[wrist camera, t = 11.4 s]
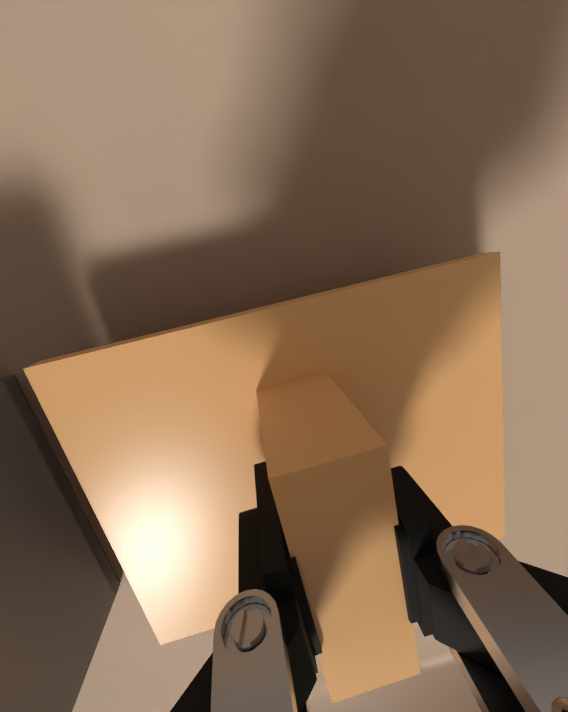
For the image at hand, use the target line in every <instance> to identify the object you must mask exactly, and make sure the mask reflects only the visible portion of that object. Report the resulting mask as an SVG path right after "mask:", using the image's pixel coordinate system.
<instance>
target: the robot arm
mask: <svg viewBox="0 0 568 712" xmlns="http://www.w3.org/2000/svg"><path fill="white" fill-rule="evenodd" d="M254 473H255V487H256V500H257V508H254V509H250V510H247V511H243V512H240V513H239V539H238V594H237V595H235V596H234V597H233V598H232V599H231V600H230V601H229V602H227V604H226V605H225V606H224V608H223V609H222V610H221V612H220V614H219V616H218V619H217V621H216V624H215V630H214V639H213V653H212V654H211V656H210V657H209V658H208V660H207V661H206V663H205V664H204V665H203V667H202V668H201V670H200V671H199V672H198V674H197V675H196V676H195V678H194V679H193V681H192V682H191V683H190V685H189V686H188V688H187V689H186V690H185V692H184V693H183V695H182V696H181V697H180V699H179V700H178V701H177V703H176V704H175V706H174V707H173V708H172V710H171V711H170V712H310V709H309V704H308V697H309V695H310V693H311V691H312V689H313V687H314V685H315V682H316V680H317V678H316V673H318V670H317V665H316V660H315V655H318V654H321V653H322V648H321V645H320V641H319V638H318V634H317V631H316V627H315V624H314V620H313V617H312V613H311V610H310V606H309V603H308V599H307V596H306V592H305V589H304V585H303V582H302V578H301V575H300V571H299V568H298V564H297V561H296V557H292V558H291V557H290V553H289V550H288V546H287V543H286V539H285V536H284V532H283V529H282V525H281V521H280V518H279V514H278V511H277V507H276V504H275V500H274V497H273V493H272V490H271V486H270V483H269V479H268V473H267V466H266V461H265V462H261V463H258V464H254ZM391 475H392V481H393V488H394V495H395V502H396V509H397V516H398V523H399V525H396V526H394V531H395V538H396V544H397V550H398V557H399V563H400V569H401V576H402V582H403V588H404V595H405V601H406V607H407V614H408V620H409V621H410V623H411V624H412V623H415V622H418V624H419V626H420V628H421V630H422V632H423V634H424V636H428V635H431V634H433V636H434V638H435V639H436V640H437V641H439V642H441V643H443V644H445V645H447V646H449V649H450V651H451V654H452V656H453V658H454V660H455V662H456V664H457V665H458V667H459V669H460V671H461V673H462V675H463V677H464V679H465V681H466V683H467V685H468V687H469V689H470V691H471V692H472V694H473V696H474V698H475V700H476V702H477V704H478V706H479V708H480V710H481V712H568V577H565V576H562V575H559V574H556V573H553V572H550V571H547V570H544V569H541V568H538V567H535V566H532V565H529V564H526V563H522V562H519V561H517V559H516V558H515V557H514V556H513V555H512V554H511V553H510V552H509V551H508V550H507V548H506V547H505V546H504V545H503V544H502V543H501V542H500V541H499V540H498V539H496V538H495V537H494V536H493V535H491V534H490V533H488V532H486V531H484V530H482V529H479V528H476V527H473V526H466V525H458V526H452V525H451V524H450V522H449V521H448V520H447V519H446V518H445V516H444V515H443V514H442V513H441V512H440V510H439V509H438V508H437V507H436V506H435V504H434V503H433V502H432V501H431V500H430V498H429V497H428V496H427V495H426V494H425V492H424V491H423V490H422V489H421V488H420V486H419V485H418V484H417V483H416V482H415V480H414V479H413V478H412V477H411V476H410V474H409V473H408V472H407V471H406V470H405V469H404V468H403V467H402V466H397V467H393V468H391Z"/></svg>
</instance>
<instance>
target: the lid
mask: <svg viewBox="0 0 568 712" xmlns="http://www.w3.org/2000/svg"><path fill="white" fill-rule="evenodd" d="M23 370H24V372H25V374H26V376H27V378H28V380H29V382H30V384H31V386H32V388H33V390H34V392H35V394H36V396H37V398H38V400H39V402H40V404H41V406H42V408H43V410H44V412H45V414H46V416H47V418H48V420H49V422H50V424H51V426H52V428H53V430H54V432H55V434H56V436H57V438H58V440H59V442H60V444H61V446H62V448H63V450H64V452H65V454H66V456H67V458H68V460H69V462H70V464H71V466H72V468H73V470H74V472H75V474H76V476H77V478H78V480H79V482H80V484H81V486H82V488H83V490H84V492H85V494H86V496H87V498H88V500H89V502H90V504H91V506H92V508H93V510H94V512H95V514H96V516H97V518H98V520H99V522H100V524H101V526H102V528H103V530H104V533H105V535H106V537H107V539H108V541H109V543H110V545H111V547H112V549H113V551H114V553H115V555H116V557H117V559H118V561H119V563H120V565H121V567H122V569H123V571H124V573H125V575H126V577H127V579H128V581H129V583H130V585H131V587H132V589H133V591H134V593H135V595H136V597H137V599H138V601H139V603H140V605H141V607H142V609H143V611H144V613H145V615H146V617H147V619H148V621H149V623H150V625H151V627H152V629H153V631H154V633H155V635H156V637H157V639H158V641H159V643H160V645H162V644H165V643H169V642H172V641H175V640H178V639H181V638H184V637H188V636H191V635H194V634H197V633H200V632H204V631H207V630H210V629H213V628H215V624H216V621H217V619H218V616H219V614H220V612H221V610H222V609H223V608H224V606H225V605H226V604H227V602H229V601H230V600H231V599H232V598H233V597H234V596H235V595H237V594H238V539H239V513H240V512H243V511H247V510H250V509H254V508H257V500H256V487H255V473H254V464H258V463H261V462H265V461H266V466H267V473H268V479H269V483H270V486H271V490H272V493H273V497H274V500H275V504H276V507H277V511H278V514H279V518H280V521H281V525H282V529H283V532H284V536H285V539H286V543H287V546H288V550H289V553H290V557H291V558H292V557H296V561H297V564H298V568H299V571H300V575H301V578H302V582H303V585H304V589H305V592H306V596H307V599H308V603H309V606H310V610H311V613H312V617H313V620H314V624H315V627H316V631H317V634H318V638H319V641H320V645H321V648H322V653H321V654H318V655H319V659H320V662H321V666H322V669H323V673H324V676H325V680H326V683H327V687H328V691H329V694H330V698H331V701H332V703H335V702H338V701H341V700H344V699H347V698H350V697H352V696H355V695H358V694H361V693H364V692H367V691H370V690H373V689H376V688H379V687H382V686H385V685H388V684H391V683H394V682H397V681H400V680H402V679H406V678H409V677H412V676H415V675H417V674H420V668H419V661H418V654H417V647H416V640H415V633H414V626H413V623H412V624H411V623H410V621H409V620H408V614H407V607H406V601H405V595H404V588H403V582H402V576H401V569H400V563H399V557H398V550H397V544H396V538H395V531H394V526H396V525H399V523H398V516H397V509H396V502H395V495H394V488H393V481H392V475H391V468H393V467H397V466H402V467H403V468H404V469H405V470H406V471H407V472H408V473H409V474H410V476H411V477H412V478H413V479H414V480H415V482H416V483H417V484H418V485H419V486H420V488H421V489H422V490H423V491H424V492H425V494H426V495H427V496H428V497H429V498H430V500H431V501H432V502H433V503H434V504H435V506H436V507H437V508H438V509H439V510H440V512H441V513H442V514H443V515H444V516H445V518H446V519H447V520H448V521H449V522H450V524H451V525H452V526H458V525H466V526H473V527H476V528H479V529H482V530H484V531H486V532H488V533H490V534H491V535H493V536H494V537H495V538H496V539H501V538H504V537H505V493H504V440H503V386H502V332H501V279H500V252H490V253H480V254H476V255H471V256H467V257H463V258H459V259H455V260H451V261H447V262H443V263H439V264H435V265H431V266H426V267H422V268H418V269H414V270H410V271H406V272H402V273H398V274H394V275H390V276H385V277H381V278H377V279H373V280H369V281H365V282H361V283H357V284H353V285H349V286H345V287H340V288H336V289H332V290H328V291H324V292H320V293H316V294H312V295H308V296H304V297H299V298H295V299H291V300H287V301H283V302H279V303H275V304H271V305H267V306H263V307H259V308H254V309H250V310H246V311H242V312H238V313H234V314H230V315H226V316H222V317H218V318H213V319H209V320H205V321H201V322H197V323H193V324H189V325H185V326H181V327H177V328H173V329H168V330H164V331H160V332H156V333H152V334H148V335H144V336H140V337H136V338H132V339H127V340H123V341H119V342H115V343H111V344H107V345H103V346H99V347H95V348H91V349H87V350H82V351H78V352H74V353H70V354H66V355H62V356H58V357H54V358H50V359H46V360H41V361H38V362H36V363H34V364H32V365H30V366H28V367H26V368H24V369H23Z"/></svg>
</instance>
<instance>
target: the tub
mask: <svg viewBox="0 0 568 712" xmlns="http://www.w3.org/2000/svg"><path fill="white" fill-rule="evenodd" d="M119 586H120V583H119V581H118V579H117V577H116V575H115V573H114V571H113V569H112V567H111V565H110V563H109V561H108V559H107V557H106V555H105V553H104V551H103V549H102V547H101V546H100V544H99V542H98V540H97V538H96V536H95V534H94V532H93V530H92V528H91V526H90V524H89V522H88V520H87V518H86V516H85V514H84V512H83V510H82V508H81V506H80V504H79V502H78V500H77V498H76V496H75V494H74V492H73V490H72V488H71V486H70V484H69V483H68V481H67V479H66V477H65V475H64V473H63V471H62V469H61V467H60V465H59V463H58V461H57V459H56V457H55V455H54V453H53V451H52V449H51V447H50V445H49V443H48V441H47V439H46V437H45V435H44V433H43V431H42V429H41V427H40V425H39V423H38V422H37V420H36V418H35V416H34V414H33V412H32V410H31V408H30V406H29V404H28V402H27V400H26V398H25V396H24V394H23V392H22V390H21V388H20V386H19V384H18V382H17V380H16V378H15V376H14V375H13V376H9V377H5V378H1V379H0V712H72V710H73V707H74V705H75V702H76V700H77V697H78V694H79V692H80V689H81V686H82V684H83V681H84V678H85V676H86V673H87V670H88V668H89V665H90V662H91V660H92V657H93V655H94V652H95V649H96V647H97V644H98V641H99V639H100V636H101V633H102V631H103V628H104V625H105V623H106V620H107V618H108V615H109V612H110V610H111V607H112V604H113V602H114V599H115V596H116V594H117V591H118V588H119Z"/></svg>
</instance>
